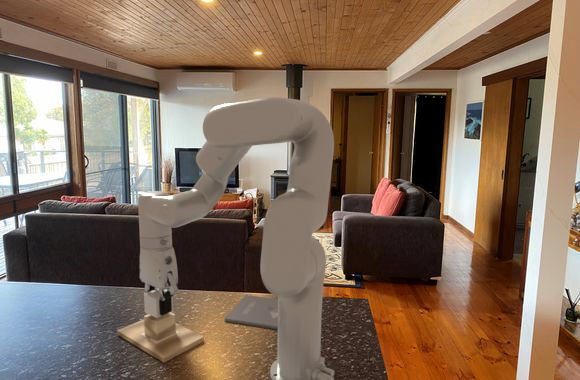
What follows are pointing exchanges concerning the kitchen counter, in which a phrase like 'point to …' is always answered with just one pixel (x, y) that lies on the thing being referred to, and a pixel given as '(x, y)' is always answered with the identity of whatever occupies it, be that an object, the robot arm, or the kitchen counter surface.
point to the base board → (161, 341)
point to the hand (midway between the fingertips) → (159, 309)
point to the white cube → (153, 302)
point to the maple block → (159, 326)
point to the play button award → (255, 312)
